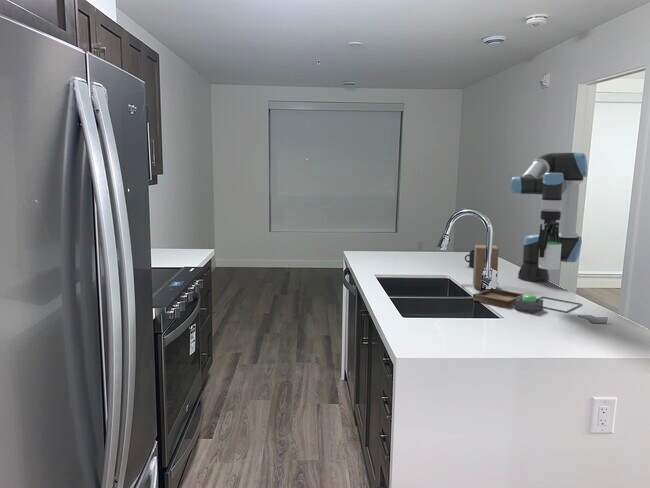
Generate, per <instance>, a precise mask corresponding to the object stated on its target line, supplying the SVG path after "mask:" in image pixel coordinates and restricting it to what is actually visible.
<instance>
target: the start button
mask: <svg viewBox="0 0 650 488" xmlns="http://www.w3.org/2000/svg"><path fill="white" fill-rule="evenodd" d="M536 299H537V296H536V295H534V294H533V295H532V294H524V295H523V297H522V301H527V302H532V303H534V302H536Z"/></svg>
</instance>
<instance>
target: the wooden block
mask: <svg viewBox="0 0 650 488" xmlns="http://www.w3.org/2000/svg"><path fill="white" fill-rule="evenodd" d="M486 245H487V244H475V245H474V249H473V250H474V268H473V273H472V274H473V275H472V285H473V288H474V289H476V290H477V289H478V290H482V289H481V280H482V273H483V269H484V268H485V248H486ZM499 251H500V250H499V248H498V246H497V245H495V244H494V245H492V254H491V268H492V269H494V270H496V271H497V272H498V266H499ZM496 277H497V278H498V273H497V274H496Z"/></svg>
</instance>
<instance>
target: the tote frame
mask: <svg viewBox="0 0 650 488" xmlns="http://www.w3.org/2000/svg"><path fill="white" fill-rule="evenodd" d="M543 298H544V299H546V300H547V299H548V300H553V301H558V302H564V303H568V304H574V305H576V306H573V307H571V308H570V309H567V310H562V309H556V308H552V307H547V306H543V309H546V310H551V311H557V312H561V313H569V312H571V311H573V310H575V309H577V308H580V307H581V306H583V303H580V302H574V301H569V300H563V299H559V298H553V297H548V296H540V297H538V298H537V297H536V299H540V300H542V299H543Z"/></svg>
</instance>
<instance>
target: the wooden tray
mask: <svg viewBox="0 0 650 488" xmlns="http://www.w3.org/2000/svg"><path fill="white" fill-rule="evenodd" d="M523 295H525V294H524V293H518V292H512V291H507V290H502V289H497V288H496V289H493V288H491V289H484V290H482V291H478V292H476V293H473V294H472V301H475V302H480V303H484V304H488V305H493V306H498V307H502V308H510V307H511V308H512V307H513V306H515V300H516V299H519V298H521V297H523Z"/></svg>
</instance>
